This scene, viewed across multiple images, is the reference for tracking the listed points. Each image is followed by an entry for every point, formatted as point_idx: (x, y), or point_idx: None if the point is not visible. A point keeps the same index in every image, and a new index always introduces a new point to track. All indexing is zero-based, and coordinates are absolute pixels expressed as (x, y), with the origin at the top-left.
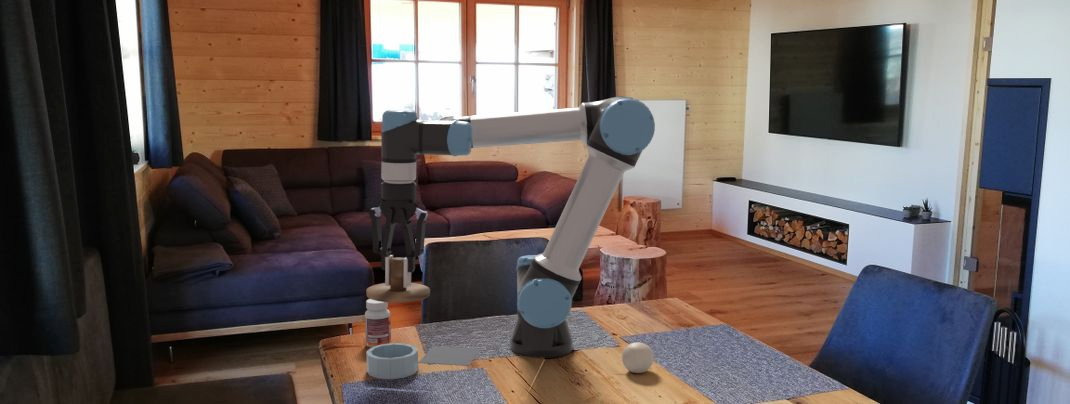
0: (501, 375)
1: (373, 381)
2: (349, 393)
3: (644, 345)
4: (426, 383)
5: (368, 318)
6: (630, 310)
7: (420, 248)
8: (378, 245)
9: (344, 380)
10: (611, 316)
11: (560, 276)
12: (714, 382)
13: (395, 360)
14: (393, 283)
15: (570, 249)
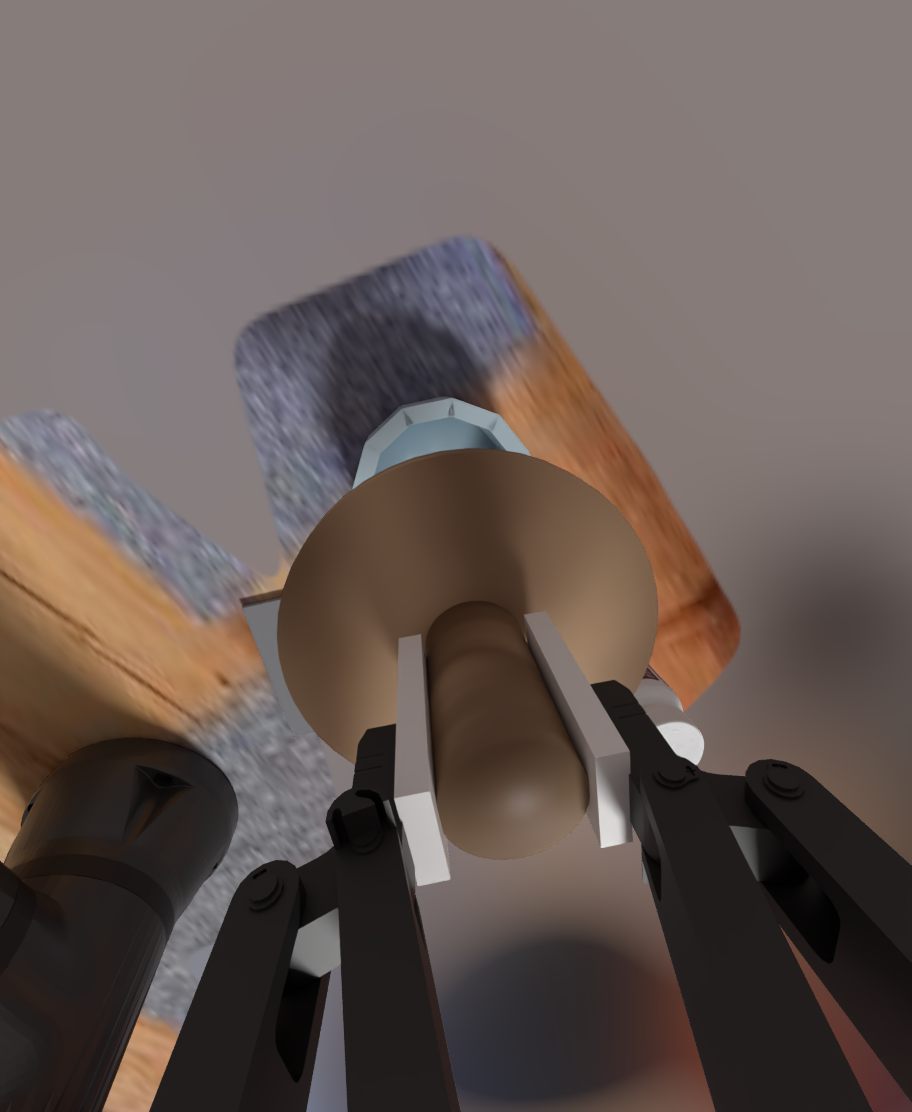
0: (108, 587)
1: (454, 386)
2: (469, 251)
3: None
4: (285, 435)
5: (652, 679)
6: (113, 1099)
7: (201, 978)
8: (798, 855)
9: (546, 359)
10: (130, 1053)
11: None
12: None
13: (387, 421)
14: (489, 626)
15: None
